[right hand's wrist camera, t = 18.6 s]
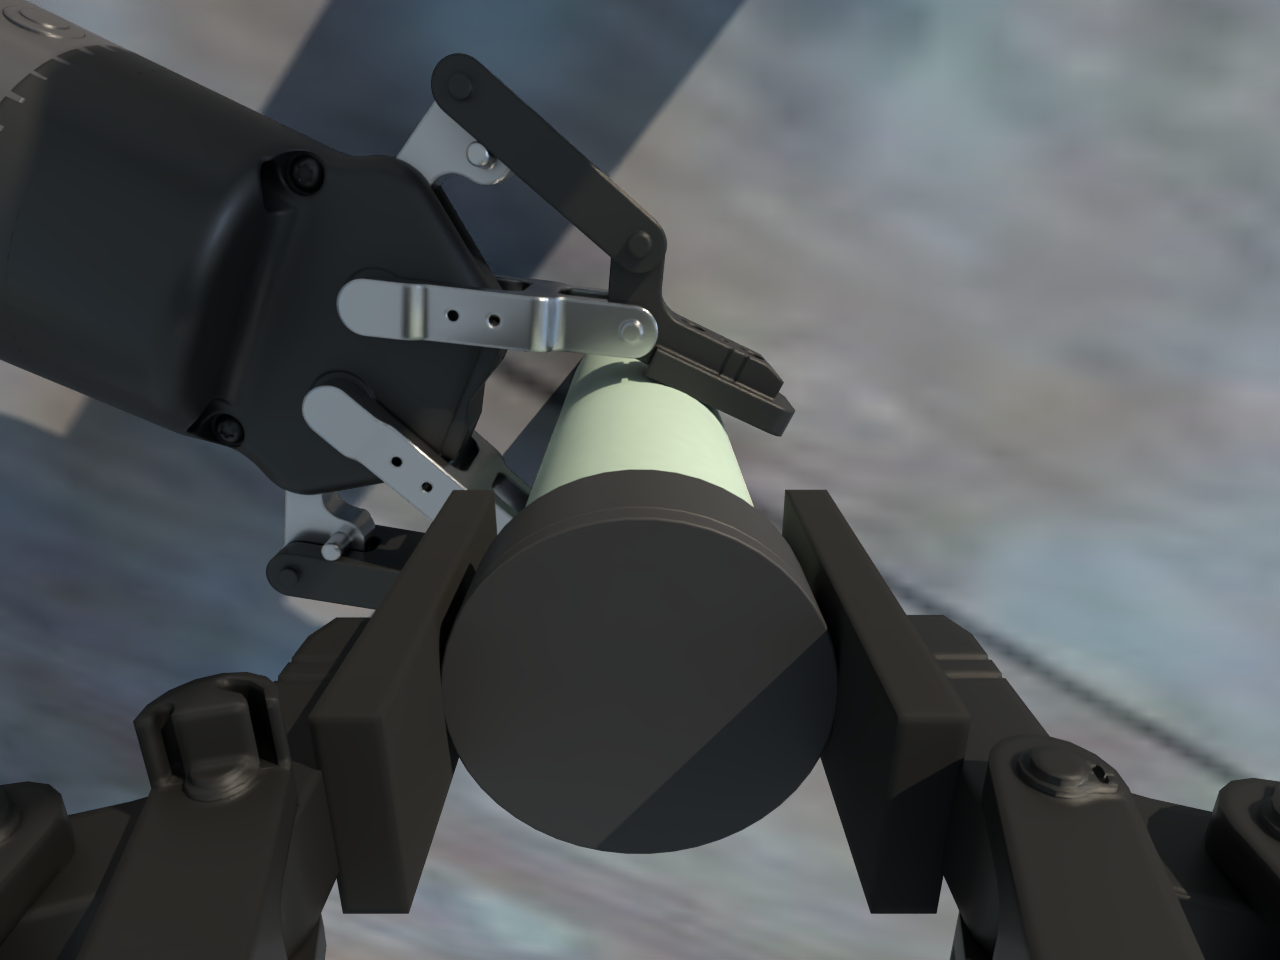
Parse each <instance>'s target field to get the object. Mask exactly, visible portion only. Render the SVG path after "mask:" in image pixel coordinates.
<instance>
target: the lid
mask: <svg viewBox="0 0 1280 960" xmlns="http://www.w3.org/2000/svg"><path fill="white" fill-rule="evenodd" d="M838 677H839V672H838V664H837V659H836V654H835V649H834V644H833V642H832V639H831V636H830V634H829V631H828V628H827V625H826V623H825V621H824V618H823V616H822V614H821V612H820V609H819V607H818V605H817V602H816V600H815V598H814V595H813V593H812V591H811V589H810V586H809V584H808V582H807V579H806V577H805V575H804V573H803V570H802V568H801V566H800V564H799V562H798V560H797V558H796V556H795V554H794V553H793V551H792V549H791V547H790V545H789V544H788V543H787V541H786V540H785V539H784V537H783V536H782V535H781V533H780V532H779V531H778V530H777V528H776V527H775V526H774V525H773V524H772V523H771V522H770V521H769V520H768V519H767V518H766V517H765V516H764V515H763V514H762V513H761V512H759V511H758V510H757V509H755V508H754V507H753V506H751V505H750V504H749V503H747V502H746V501H745V500H743V499H742V498H740V497H738V496H736V495H735V494H733V493H731V492H729V491H727V490H726V489H724V488H722V487H719V486H717V485H714V484H712V483H709V482H707V481H705V480H702V479H699V478H695V477H691V476H688V475H684V474H680V473H675V472H667V471H660V470H635V469H628V470H620V471H611V472H604V473H600V474H596V475H591V476H587V477H583V478H580V479H577V480H575V481H572V482H570V483H567V484H564V485H562V486H559V487H557V488H555V489H554V490H552V491H550V492H548V493H546V494H544V495H543V496H541V497H539V498H537V499H536V500H535V501H533V502H532V503H531V504H529V505H528V506H526V507H525V508H524V509H522V510H521V511H520V512H519V513H518V514H517V515H516V516H514V517H513V518H512V519H511V520H510V521H509V522H508V523H507V524H506V525H505V526H504V527H503V529H502V530H501V531H500V532H499V534H498V535H497V536H496V537H495V539H494V540H493V541H492V543H491V544H490V546H489V548H488V549H487V551H486V553H485V555H484V556H483V558H482V560H481V562H480V564H479V566H478V568H477V571H476V573H475V575H474V577H473V580H472V582H471V584H470V586H469V589H468V591H467V593H466V596H465V598H464V600H463V602H462V605H461V607H460V609H459V612H458V614H457V616H456V618H455V621H454V623H453V626H452V628H451V631H450V633H449V636H448V639H447V641H446V644H445V649H444V653H443V658H442V663H441V687H442V697H443V707H444V716H445V723H446V728H447V731H448V734H449V736H450V739H451V741H452V743H453V746H454V748H455V751H456V753H457V754H458V756H459V758H460V759H461V761H462V763H463V764H464V766H465V768H466V769H467V771H468V772H469V773H470V775H471V776H472V777H473V778H474V780H475V781H476V782H477V783H478V785H479V786H480V787H481V788H482V789H483V790H484V791H485V792H486V793H487V794H488V795H489V796H490V797H491V798H492V799H493V800H494V801H495V802H496V803H497V804H498V805H500V806H501V807H502V808H504V809H505V810H506V811H508V812H509V813H510V814H512V815H513V816H514V817H515V818H517V819H519V820H521V821H522V822H524V823H526V824H527V825H529V826H531V827H532V828H534V829H536V830H538V831H540V832H543V833H545V834H547V835H549V836H552V837H554V838H556V839H559V840H562V841H565V842H568V843H571V844H574V845H577V846H581V847H586V848H590V849H595V850H600V851H607V852H616V853H625V854H653V853H663V852H674V851H679V850H684V849H689V848H694V847H698V846H701V845H705V844H708V843H711V842H714V841H717V840H720V839H723V838H725V837H727V836H730V835H732V834H734V833H737V832H739V831H741V830H743V829H745V828H746V827H748V826H750V825H752V824H753V823H755V822H757V821H759V820H760V819H762V818H763V817H765V816H766V815H767V814H769V813H770V812H771V811H773V810H774V809H776V808H777V807H778V806H780V805H781V804H782V803H783V802H784V801H785V800H786V799H787V798H788V797H789V796H790V795H791V794H792V793H793V792H795V791H796V789H797V788H798V787H799V786H800V785H801V783H802V782H803V781H804V780H805V779H806V777H807V776H808V775H809V774H810V772H811V771H812V769H813V767H814V766H815V764H816V763H817V761H818V759H819V758H820V756H821V755H822V752H823V750H824V748H825V746H826V743H827V741H828V739H829V737H830V734H831V731H832V727H833V723H834V719H835V711H836V701H837V692H838Z"/></svg>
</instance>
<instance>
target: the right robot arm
mask: <svg viewBox="0 0 1280 960" xmlns="http://www.w3.org/2000/svg"><path fill="white" fill-rule="evenodd" d="M496 536H497V522H496V508H495V494H494V490H453V491H452V492H451V494H450V495H449V497H448V498H447V500H446V502H445V503H444V505H443V506H442V508H441V509H440V511H439V513H438V514H437V516H436V517H435V519H434V520H433V522H432V523H431V525H430V527H429V528H428V530H427V531H426V533H425V534H424V536H423V538H422V539H421V541H420V542H419V544H418V545H417V547H416V549H415V550H414V552H413V553H412V555H411V556H410V558H409V559H408V561H407V563H406V564H405V566H404V567H403V569H402V570H401V572H400V574H399V575H398V577H397V578H396V580H395V581H394V583H393V585H392V586H391V588H390V589H389V591H388V592H387V594H386V595H385V597H384V599H383V600H382V602H381V603H380V605H379V606H378V608H377V610H376V611H375V613H374V614H373V616H372V617H371V618H335V619H334V620H332V621H331V622H329V623H328V624H326V625H325V626H323V627H322V628H320V629H319V630H317V631H316V632H314V633H313V634H311V635H310V636H308V637H307V639H306V640H305V641H304V643H303V644H302V645H301V647H300V648H299V649H298V651H297V652H296V653H295V655H294V656H293V657H292V662H289V663H288V664H287V665H286V667H285V668H284V669H283V671H282V672H281V673H280V675H279V676H278V681H274V683H273V682H272V681H271V680H270V679H268V678H267V677H266V676H262V675H257V674H253V673H248V672H238V673H221V674H217V675H212V676H208V677H204V678H199V679H195V680H193V681H190V682H188V683H186V684H183V685H181V686H178V687H176V688H174V689H171V690H169V691H167V692H166V693H164V694H163V695H161V696H160V697H158V698H157V699H155V700H154V701H152V702H151V703H149V704H148V705H147V706H146V707H145V708H144V709H143V710H142V712H141V713H140V714H139V715H138V716H137V717H136V719H135V720H134V721H133V723H134V726H135V730H136V733H137V737H138V741H139V744H140V748H141V752H142V755H143V759H144V763H145V766H146V770H147V773H148V777H149V781H150V784H151V788H152V789H151V791H150V793H149V796H148V797H145V798H142V799H138V800H135V801H131V802H127V803H122V804H118V805H113V806H108V807H104V808H99V809H95V810H90V811H86V812H81V813H77V814H72V815H68V814H67V811H66V808H65V805H64V802H63V799H62V796H61V794H60V793H59V792H58V791H56V790H55V789H54V788H53V787H52V786H50V785H49V784H42V783H35V782H28V781H27V782H20V783H13V784H6V785H0V960H325V953H326V939H325V931H324V925H323V920H322V915H321V912H322V909H323V907H324V905H325V903H326V900H327V898H328V896H329V894H330V891H331V889H332V887H333V885H334V882H335V880H336V878H337V883H338V888H339V894H340V899H341V905H342V911H343V914H409V911H410V908H411V905H412V902H413V898H414V895H415V892H416V889H417V886H418V883H419V880H420V877H421V874H422V871H423V867H424V864H425V861H426V858H427V855H428V852H429V849H430V846H431V843H432V840H433V836H434V833H435V830H436V827H437V824H438V821H439V818H440V815H441V812H442V809H443V805H444V802H445V799H446V796H447V793H448V790H449V787H450V784H451V781H452V778H453V774H454V771H455V768H456V765H457V762H458V759H459V756H458V754H457V753H456V751H455V748H454V746H453V743H452V741H451V739H450V736H449V734H448V731H447V728H446V723H445V716H444V707H443V697H442V687H441V663H442V658H443V653H444V649H445V644H446V641H447V639H448V636H449V633H450V631H451V628H452V626H453V623H454V621H455V618H456V616H457V614H458V612H459V609H460V607H461V605H462V602H463V600H464V598H465V596H466V593H467V591H468V589H469V586H470V584H471V582H472V580H473V577H474V575H475V573H476V571H477V568H478V566H479V564H480V562H481V560H482V558H483V556H484V555H485V553H486V551H487V549H488V548H489V546H490V544H491V543H492V541H493V540H494V539H495V537H496ZM782 536H783V537H784V539H785V540H786V541H787V543H788V544H789V545H790V547H791V549H792V551H793V553H794V554H795V556H796V558H797V560H798V562H799V564H800V566H801V568H802V570H803V573H804V575H805V577H806V579H807V582H808V584H809V586H810V589H811V591H812V593H813V595H814V598H815V600H816V602H817V605H818V607H819V609H820V612H821V614H822V616H823V618H824V621H825V623H826V625H827V628H828V631H829V634H830V636H831V639H832V642H833V644H834V649H835V654H836V659H837V664H838V672H839V677H838V692H837V701H836V711H835V719H834V723H833V727H832V731H831V734H830V737H829V739H828V741H827V743H826V746H825V748H824V750H823V752H822V755H821V756H820V757H821V760H822V763H823V767H824V770H825V773H826V776H827V779H828V782H829V785H830V788H831V791H832V795H833V798H834V801H835V804H836V807H837V810H838V813H839V816H840V819H841V822H842V826H843V829H844V832H845V835H846V838H847V841H848V844H849V847H850V850H851V853H852V857H853V860H854V863H855V866H856V869H857V872H858V875H859V878H860V881H861V884H862V888H863V891H864V894H865V897H866V900H867V903H868V906H869V909H870V912H871V914H936V913H937V908H938V902H939V897H940V891H941V886H942V880H943V875H944V877H945V880H946V882H947V884H948V886H949V889H950V891H951V893H952V895H953V898H954V900H955V902H956V904H957V906H958V909H959V915H958V920H957V925H956V930H955V936H954V941H953V946H952V951H951V956H950V960H1280V782H1278V781H1271V780H1264V779H1257V778H1249V779H1242V780H1234V781H1231V782H1229V783H1228V784H1227V785H1226V786H1225V787H1223V788H1222V789H1221V790H1220V791H1219V794H1218V797H1217V800H1216V803H1215V806H1214V809H1213V812H1210V811H1205V810H1201V809H1196V808H1192V807H1187V806H1182V805H1178V804H1173V803H1169V802H1164V801H1159V800H1155V799H1150V798H1147V797H1143V796H1140V795H1136V794H1133V793H1131V792H1130V790H1129V787H1128V786H1127V785H1126V783H1125V782H1124V781H1123V779H1122V778H1121V776H1120V775H1119V774H1118V772H1117V771H1116V770H1115V769H1114V768H1113V767H1111V766H1110V765H1109V764H1107V763H1106V762H1105V761H1103V760H1102V759H1101V758H1100V757H1098V756H1097V755H1096V754H1094V753H1092V752H1090V751H1088V750H1086V749H1083V748H1081V747H1079V746H1077V745H1075V744H1073V743H1071V742H1068V741H1064V740H1060V739H1057V738H1053V737H1050V736H1049V735H1048V734H1047V732H1046V731H1045V730H1044V728H1043V727H1042V726H1041V724H1040V723H1039V722H1038V721H1037V719H1036V718H1035V717H1034V715H1033V714H1032V713H1031V711H1030V710H1029V709H1028V707H1027V706H1026V705H1025V703H1024V702H1023V701H1022V699H1021V698H1020V697H1019V696H1018V694H1017V693H1016V692H1015V690H1014V689H1013V688H1012V686H1011V685H1010V684H1009V682H1008V681H1007V680H1006V678H1002V673H1001V672H1000V671H999V669H998V668H997V667H996V665H995V664H994V663H993V661H992V660H988V655H987V653H986V652H985V651H984V650H983V648H982V647H981V646H980V644H979V643H978V642H977V640H976V639H975V638H974V636H973V635H972V634H971V633H970V632H968V631H967V630H965V629H964V628H962V627H961V626H959V625H958V624H956V623H955V622H953V621H952V620H950V619H949V618H947V617H945V616H944V615H906V613H905V612H904V610H903V609H902V607H901V606H900V604H899V603H898V601H897V599H896V598H895V596H894V595H893V593H892V592H891V590H890V588H889V587H888V585H887V584H886V582H885V581H884V579H883V577H882V576H881V574H880V573H879V571H878V570H877V568H876V567H875V565H874V563H873V562H872V560H871V559H870V557H869V556H868V554H867V552H866V551H865V549H864V548H863V546H862V545H861V543H860V541H859V540H858V538H857V537H856V535H855V534H854V532H853V530H852V529H851V527H850V526H849V524H848V523H847V521H846V520H845V518H844V516H843V515H842V513H841V512H840V510H839V509H838V507H837V505H836V504H835V502H834V501H833V499H832V498H831V496H830V494H829V493H828V491H827V490H785V501H784V516H783V530H782Z"/></svg>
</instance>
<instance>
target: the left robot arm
mask: <svg viewBox="0 0 1280 960" xmlns="http://www.w3.org/2000/svg"><path fill="white" fill-rule="evenodd" d="M431 89H432V94H433V97H434V99H435V101H434V102H433V104H432V105H431V107H430V108H429V110H428V111H427V113H426V114H425V115H424V117H423V118H422V120H421V121H420V123H419V124H418V126H417V127H416V129H415V130H414V132H413V133H412V135H411V136H410V137H409V139H408V140H407V142H406V143H405V145H404V146H403V148H402V149H401V151H400V152H399V154H398V155H397V157H391V156H385V155H373V156H362V157H354V156H350V155H347V154H344V153H342V152H339V151H337V150H334V149H332V148H330V147H328V146H326V145H324V144H322V143H320V142H318V141H316V140H314V139H312V138H310V137H307V136H305V135H303V134H301V133H299V132H297V131H295V130H293V129H291V128H289V127H287V126H285V125H283V124H281V123H279V122H276V121H274V120H272V119H270V118H268V117H266V116H264V115H262V114H260V113H258V112H256V111H254V110H252V109H250V108H248V107H245V106H243V105H241V104H239V103H237V102H235V101H233V100H231V99H229V98H227V97H225V96H223V95H221V94H219V93H217V92H214V91H212V90H210V89H208V88H206V87H204V86H202V85H200V84H198V83H196V82H194V81H192V80H190V79H188V78H185V77H183V76H181V75H179V74H177V73H175V72H173V71H171V70H169V69H167V68H165V67H163V66H161V65H159V64H157V63H155V62H152V61H150V60H148V59H146V58H144V57H142V56H140V55H138V54H136V53H134V52H131V51H129V50H127V49H125V48H123V47H121V46H119V45H117V44H115V43H113V42H111V41H108V40H106V39H104V38H102V37H100V36H98V35H96V34H94V33H92V32H90V31H88V30H86V29H84V28H82V27H80V26H78V25H76V24H74V23H72V22H69V21H67V20H65V19H63V18H61V17H59V16H57V15H55V14H53V13H51V12H49V11H47V10H45V9H43V8H41V7H39V6H37V5H35V4H32V3H30V2H28V1H26V0H0V360H2V361H5V362H7V363H10V364H12V365H14V366H17V367H19V368H22V369H24V370H26V371H29V372H31V373H34V374H36V375H39V376H41V377H43V378H46V379H48V380H51V381H53V382H55V383H58V384H60V385H63V386H65V387H68V388H70V389H72V390H75V391H77V392H80V393H82V394H84V395H87V396H89V397H92V398H94V399H97V400H99V401H101V402H104V403H106V404H109V405H111V406H113V407H116V408H118V409H121V410H123V411H126V412H128V413H130V414H133V415H135V416H138V417H140V418H142V419H145V420H147V421H150V422H152V423H155V424H157V425H159V426H162V427H164V428H167V429H169V430H171V431H174V432H177V433H180V434H183V435H186V436H189V437H193V438H197V439H201V440H205V441H209V442H213V443H217V444H221V445H224V446H228V447H230V448H233V449H235V450H237V451H239V452H240V453H242V454H243V455H245V456H246V457H247V458H249V459H250V460H251V461H252V462H254V463H255V464H256V465H257V466H258V467H259V468H260V469H261V470H262V471H263V473H264V474H265V475H266V476H267V477H268V478H269V479H270V480H271V481H272V482H273V483H275V484H276V485H278V486H279V487H281V488H282V489H285V527H284V545H283V547H282V548H281V550H280V551H279V552H278V553H277V554H276V555H275V556H274V557H273V558H272V559H271V560H270V561H269V563H268V565H267V568H266V576H267V579H268V581H269V583H270V584H271V586H272V587H273V588H274V589H275V590H277V591H278V592H280V593H282V594H284V595H288V596H293V597H299V598H306V599H312V600H318V601H325V602H331V603H337V604H343V605H350V606H356V607H362V608H369V609H375V610H377V608H378V606H379V605H380V603H381V602H382V600H383V599H384V597H385V595H386V594H387V592H388V591H389V589H390V588H391V586H392V585H393V583H394V581H395V580H396V578H397V577H398V575H399V574H400V572H401V570H402V569H403V567H404V566H405V564H406V563H407V561H408V559H409V558H410V556H411V555H412V553H413V552H414V550H415V549H416V547H417V545H418V544H419V542H420V541H421V539H422V538H423V536H424V534H425V533H422V532H416V531H410V530H404V529H398V528H392V527H386V526H380V525H375V523H374V521H373V519H372V517H371V515H370V513H369V512H368V511H367V510H365V509H360V508H358V507H354V506H351V505H349V504H348V503H346V502H345V501H343V500H342V499H341V497H340V496H339V495H338V493H337V491H340V490H346V489H351V488H357V487H363V486H368V485H374V484H379V483H386V484H387V485H388V486H390V487H391V488H392V489H393V490H395V491H396V492H397V493H398V494H399V495H401V496H402V497H403V498H404V499H405V500H407V501H408V502H409V503H410V504H412V505H413V506H414V507H415V508H416V509H418V510H419V511H420V512H421V513H423V514H424V515H425V516H426V517H427V518H429V519H430V520H431V521H432V522H433V520H434V519H435V517H436V516H437V514H438V513H439V511H440V509H441V508H442V506H443V505H444V503H445V502H446V500H447V498H448V497H449V495H450V494H451V492H452V491H453V490H494V494H495V508H496V522H497V535H498V534H499V532H500V531H501V530H502V529H503V527H504V526H505V525H506V524H507V523H508V522H509V521H510V520H511V519H512V518H513V517H514V516H516V515H517V514H518V513H519V512H520V511H521V510H522V509H524V508H525V506H526V504H527V501H528V498H529V496H530V493H531V490H532V488H531V487H530V486H528V485H527V484H526V483H525V482H524V481H523V480H521V479H520V478H519V477H518V476H517V475H516V474H515V473H513V472H512V471H511V470H510V469H509V468H508V466H507V465H506V463H505V461H504V458H503V457H502V455H501V454H500V453H499V452H498V450H497V449H495V448H494V447H493V446H492V445H491V444H490V443H489V442H488V441H486V440H485V439H484V438H483V437H482V436H481V435H479V434H478V433H477V432H476V431H475V430H474V429H475V427H476V424H477V422H478V419H479V417H480V415H481V412H482V405H483V396H484V387H485V382H486V380H487V379H488V377H489V376H490V375H491V374H492V372H493V371H494V370H495V369H496V367H497V366H498V365H499V364H500V362H501V361H502V360H503V359H504V357H505V354H506V352H507V350H517V351H526V352H550V351H566V352H575V353H583V354H592V355H601V356H610V357H619V358H628V359H637V360H639V361H641V362H643V363H644V371H645V376H647V377H649V378H652V379H654V380H656V381H658V382H660V383H662V384H664V385H667V386H669V387H671V388H674V389H676V390H678V391H681V392H683V393H685V394H687V395H689V396H690V397H692V398H694V399H697V400H699V401H701V402H703V403H705V404H707V405H709V406H712V407H714V408H716V409H718V410H720V411H722V412H724V413H727V414H729V415H731V416H733V417H735V418H737V419H739V420H742V421H744V422H746V423H748V424H750V425H752V426H755V427H757V428H759V429H761V430H763V431H765V432H767V433H770V434H772V435H775V436H782V434H783V432H784V430H785V429H786V427H787V425H788V423H789V421H790V420H791V418H792V416H793V414H794V412H795V410H794V408H793V407H792V406H791V404H790V403H789V402H788V400H787V399H786V398H785V397H784V396H783V395H782V394H780V393H779V390H780V388H781V387H782V385H783V383H784V382H783V381H782V379H781V378H780V377H779V375H778V374H777V373H776V372H775V370H774V369H773V368H772V367H771V366H770V365H769V363H768V362H767V361H766V360H765V359H764V358H763V357H762V356H761V354H759V353H756V352H754V351H752V350H750V349H748V348H746V347H744V346H742V345H739V344H738V343H736V342H734V341H732V340H730V339H727V338H725V337H723V336H721V335H719V334H717V333H715V332H713V331H711V330H709V329H707V328H705V327H703V326H701V325H698V324H696V323H694V322H692V321H690V320H688V319H686V318H684V317H682V316H680V315H678V314H676V313H674V312H673V311H672V310H671V309H670V308H669V307H668V306H667V305H666V303H665V302H664V300H663V298H662V280H663V270H664V260H665V253H666V249H667V240H666V235H665V233H664V230H663V229H662V227H661V226H660V224H659V223H658V222H657V221H656V220H655V219H654V218H653V217H652V216H651V215H650V214H649V213H647V212H646V211H645V210H644V209H643V208H642V207H641V206H640V205H639V204H637V203H636V202H635V201H634V200H633V199H632V198H631V197H630V196H629V195H627V194H626V193H625V192H624V191H623V190H622V189H621V188H620V187H619V186H617V185H616V184H615V183H614V182H613V181H612V180H611V179H610V178H609V177H607V176H606V175H605V174H604V173H603V172H602V171H601V170H600V169H599V168H597V167H596V166H595V165H594V164H593V163H592V162H591V161H590V160H588V159H587V158H586V157H585V156H584V155H583V154H582V153H581V152H580V151H578V150H577V149H576V148H575V147H574V146H573V145H572V144H571V143H570V142H568V141H567V140H566V139H565V138H564V137H563V136H562V135H561V134H560V133H558V132H557V131H556V130H555V129H554V128H553V127H552V126H551V125H550V124H548V123H547V122H546V121H545V120H544V119H543V118H542V117H541V116H540V115H538V114H537V113H536V112H535V111H534V110H533V109H532V108H531V107H530V106H528V105H527V104H526V103H525V102H524V101H523V100H522V99H521V98H520V97H518V96H517V95H516V94H515V93H514V92H513V91H512V90H511V89H510V88H508V87H507V86H506V85H505V84H504V83H503V82H502V81H501V80H500V79H498V78H497V77H496V76H495V75H494V74H493V73H491V72H490V71H489V70H488V69H487V68H485V67H484V66H483V65H482V64H481V63H480V62H478V61H477V60H476V59H474V58H473V57H471V56H469V55H466V54H460V53H457V54H451V55H448V56H446V57H444V58H443V59H442V60H441V61H440V62H439V63H438V64H437V65H436V67H435V69H434V71H433V74H432V79H431ZM514 174H516V175H517V176H518V177H519V178H520V179H522V180H523V181H524V182H525V183H526V184H527V185H528V186H530V187H531V188H532V189H533V190H534V191H535V192H537V193H538V194H539V195H540V196H541V197H542V198H543V199H545V200H546V201H547V202H548V203H549V204H550V205H551V206H553V207H554V208H555V209H556V210H557V211H558V212H560V213H561V214H562V215H563V216H564V217H565V218H566V219H568V220H569V221H570V222H571V223H572V224H573V225H574V226H576V227H577V228H578V229H579V230H580V231H581V232H582V233H584V234H585V235H586V236H587V237H588V238H589V239H591V240H592V241H593V242H594V243H595V244H596V245H597V246H599V247H600V248H601V249H602V250H603V251H604V252H605V253H607V254H608V255H609V256H610V257H611V265H610V278H609V290H605V289H597V288H588V287H580V286H572V285H567V284H564V283H560V282H555V281H547V280H539V279H530V278H522V277H513V276H504V275H496V274H493V273H492V271H491V269H490V268H489V266H488V264H487V263H486V261H485V259H484V258H483V256H482V254H481V253H480V251H479V249H478V248H477V246H476V244H475V243H474V241H473V239H472V238H471V236H470V234H469V233H468V231H467V229H466V227H465V226H464V224H463V222H462V221H461V219H460V217H459V216H458V214H457V212H456V211H455V209H454V207H453V206H452V204H451V202H450V201H449V199H448V197H447V196H446V194H445V192H444V190H443V189H442V187H441V184H442V183H443V182H444V181H445V180H447V179H448V178H450V177H452V176H455V175H462V176H464V177H466V178H468V179H470V180H471V181H473V182H475V183H477V184H480V185H489V186H497V185H501V184H504V183H505V182H507V181H508V180H510V179H511V177H512V176H513V175H514ZM429 483H430V484H429Z"/></svg>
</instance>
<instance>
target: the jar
mask: <svg viewBox="0 0 1280 960" xmlns="http://www.w3.org/2000/svg"><path fill="white" fill-rule="evenodd" d="M628 469H635V470H660V471H667V472H675V473H680V474H684V475H688V476H691V477H695V478H699V479H702V480H705V481H707V482H709V483H712V484H714V485H717V486H719V487H722V488H724V489H726V490H727V491H729V492H731V493H733V494H735V495H736V496H738V497H740V498H742V499H743V500H745V501H746V502H747V503H749V504H750V505H751V506H753V504H752V501H751V498H750V495H749V493H748V490H747V487H746V485H745V482H744V479H743V476H742V474H741V471H740V468H739V466H738V463H737V460H736V457H735V455H734V452H733V449H732V447H731V444H730V441H729V439H728V436H727V433H726V430H725V428H724V425H723V422H722V420H721V417H720V414H719V411H718V409H716V408H714V407H712V406H709V405H707V404H705V403H703V402H701V401H699V400H697V399H694V398H692V397H690V396H689V395H687V394H685V393H683V392H681V391H678V390H676V389H674V388H671V387H669V386H667V385H664V384H662V383H660V382H658V381H656V380H654V379H652V378H649V377H647V376H645V371H644V363H643V362H641V361H639V360H637V359H628V358H619V357H610V356H601V355H592V354H586V355H585V356H584V357H583V358H582V360H581V362H580V363H579V365H578V367H577V369H576V372H575V374H574V377H573V380H572V382H571V385H570V388H569V390H568V393H567V396H566V399H565V401H564V404H563V407H562V409H561V412H560V415H559V417H558V420H557V423H556V426H555V428H554V431H553V434H552V436H551V439H550V442H549V444H548V447H547V450H546V452H545V455H544V458H543V461H542V463H541V466H540V469H539V471H538V474H537V477H536V479H535V482H534V485H533V488H532V490H531V493H530V496H529V498H528V501H527V504H526V506H528V505H529V504H531V503H532V502H533V501H535V500H536V499H537V498H539V497H541V496H543V495H544V494H546V493H548V492H550V491H552V490H554V489H555V488H557V487H559V486H562V485H564V484H567V483H570V482H572V481H575V480H577V479H580V478H583V477H587V476H591V475H596V474H600V473H604V472H611V471H620V470H628ZM526 506H525V507H526ZM753 507H754V506H753Z"/></svg>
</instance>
